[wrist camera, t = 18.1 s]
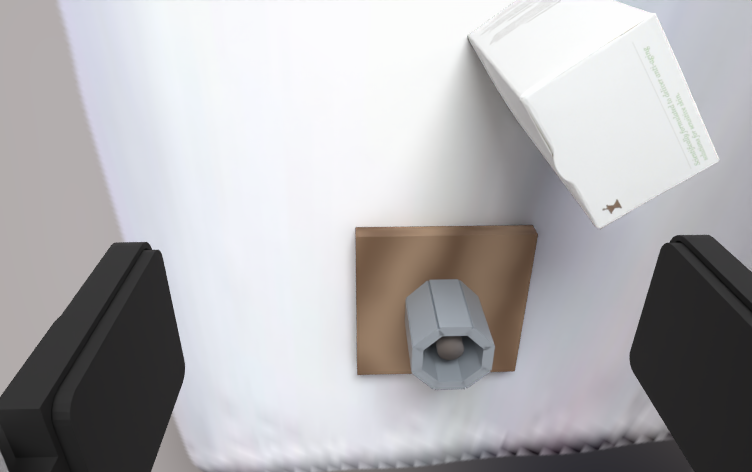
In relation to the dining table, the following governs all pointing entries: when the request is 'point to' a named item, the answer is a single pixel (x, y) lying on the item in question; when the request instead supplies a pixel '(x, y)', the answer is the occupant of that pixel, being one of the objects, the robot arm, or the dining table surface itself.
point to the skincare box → (597, 99)
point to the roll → (447, 334)
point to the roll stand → (438, 262)
